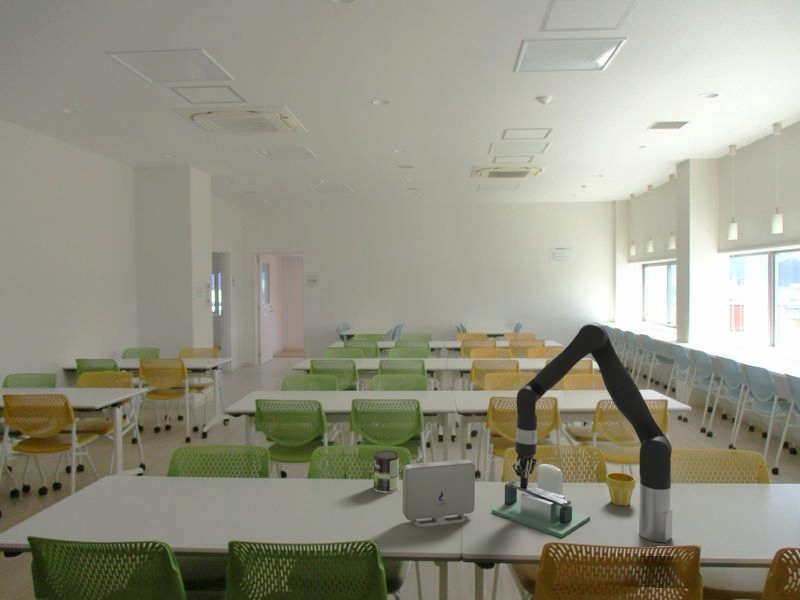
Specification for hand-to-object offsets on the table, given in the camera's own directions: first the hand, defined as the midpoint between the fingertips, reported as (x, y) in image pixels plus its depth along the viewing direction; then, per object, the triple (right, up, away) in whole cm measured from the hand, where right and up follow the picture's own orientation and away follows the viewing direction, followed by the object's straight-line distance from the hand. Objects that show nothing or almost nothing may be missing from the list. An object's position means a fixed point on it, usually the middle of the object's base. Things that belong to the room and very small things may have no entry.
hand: (523, 486), depth 205 cm
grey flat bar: (+5, -2, -5) cm, 7 cm away
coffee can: (-51, -8, +22) cm, 56 cm away
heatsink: (+4, -8, -4) cm, 10 cm away
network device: (-32, -9, -7) cm, 34 cm away
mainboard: (+5, -9, -4) cm, 11 cm away
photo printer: (+13, -9, +14) cm, 21 cm away
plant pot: (+39, -9, +9) cm, 41 cm away
